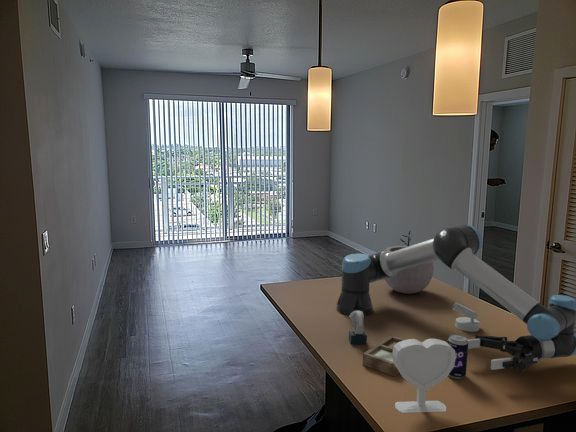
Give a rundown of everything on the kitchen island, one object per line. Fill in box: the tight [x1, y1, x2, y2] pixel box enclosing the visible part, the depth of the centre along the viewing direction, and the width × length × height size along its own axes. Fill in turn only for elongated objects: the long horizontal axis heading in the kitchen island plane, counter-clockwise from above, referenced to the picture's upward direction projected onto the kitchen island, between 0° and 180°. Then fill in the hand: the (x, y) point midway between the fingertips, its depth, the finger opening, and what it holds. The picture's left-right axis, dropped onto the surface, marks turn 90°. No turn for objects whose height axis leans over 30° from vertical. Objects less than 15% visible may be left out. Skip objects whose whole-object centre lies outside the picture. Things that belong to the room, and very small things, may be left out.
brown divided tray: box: [362, 335, 406, 377], centre depth 142 cm, size 11×19×4 cm, turn 140°
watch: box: [348, 311, 368, 345], centre depth 155 cm, size 6×8×11 cm
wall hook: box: [452, 302, 481, 333], centre depth 170 cm, size 9×10×10 cm
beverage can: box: [447, 333, 469, 380], centre depth 132 cm, size 6×6×12 cm
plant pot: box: [384, 231, 434, 295], centre depth 212 cm, size 24×24×30 cm
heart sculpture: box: [392, 338, 456, 414], centre depth 114 cm, size 16×5×18 cm, turn 94°
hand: (475, 354), depth 132 cm, fingers open, 13 cm apart
